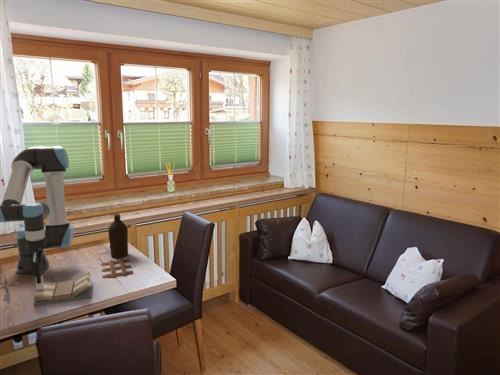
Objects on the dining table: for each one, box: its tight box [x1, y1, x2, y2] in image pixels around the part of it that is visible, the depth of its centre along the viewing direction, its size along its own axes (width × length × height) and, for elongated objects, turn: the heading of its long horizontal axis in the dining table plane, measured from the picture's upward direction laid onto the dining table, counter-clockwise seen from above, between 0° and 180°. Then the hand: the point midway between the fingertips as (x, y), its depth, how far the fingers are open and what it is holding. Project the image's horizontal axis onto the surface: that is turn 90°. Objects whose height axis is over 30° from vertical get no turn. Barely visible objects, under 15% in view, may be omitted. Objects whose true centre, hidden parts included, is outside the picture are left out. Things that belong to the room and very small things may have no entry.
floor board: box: [33, 280, 94, 307], centre depth 176 cm, size 14×23×4 cm, turn 109°
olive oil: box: [107, 212, 129, 259], centre depth 223 cm, size 11×11×25 cm
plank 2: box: [72, 271, 92, 296], centre depth 178 cm, size 14×7×2 cm
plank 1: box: [33, 282, 58, 302], centre depth 174 cm, size 14×7×2 cm, turn 19°
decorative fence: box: [100, 257, 134, 279], centre depth 206 cm, size 23×2×15 cm
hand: (40, 289), depth 172 cm, fingers closed
